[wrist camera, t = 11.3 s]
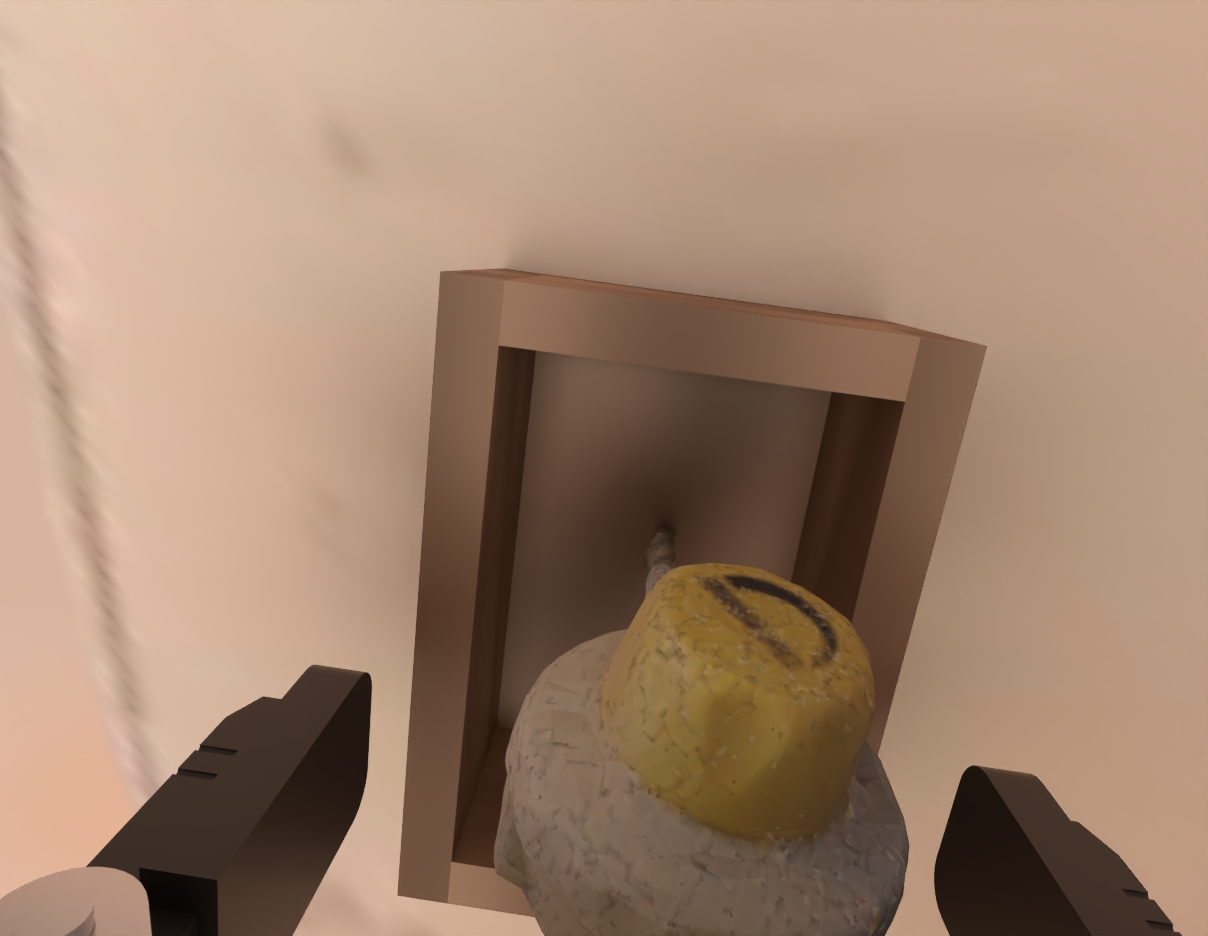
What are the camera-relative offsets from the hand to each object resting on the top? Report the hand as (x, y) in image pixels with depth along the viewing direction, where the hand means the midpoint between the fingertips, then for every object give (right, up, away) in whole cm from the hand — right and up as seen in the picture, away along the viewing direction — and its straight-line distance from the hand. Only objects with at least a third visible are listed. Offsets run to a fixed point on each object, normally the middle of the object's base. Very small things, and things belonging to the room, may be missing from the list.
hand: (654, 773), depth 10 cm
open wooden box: (0, +2, +8) cm, 8 cm away
